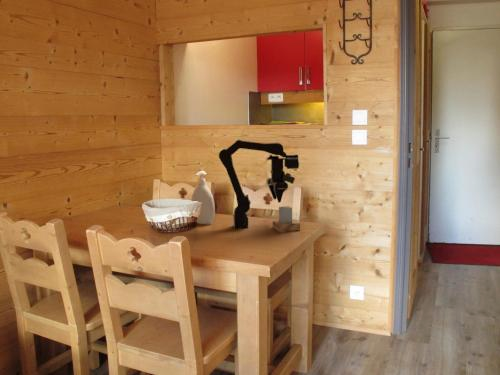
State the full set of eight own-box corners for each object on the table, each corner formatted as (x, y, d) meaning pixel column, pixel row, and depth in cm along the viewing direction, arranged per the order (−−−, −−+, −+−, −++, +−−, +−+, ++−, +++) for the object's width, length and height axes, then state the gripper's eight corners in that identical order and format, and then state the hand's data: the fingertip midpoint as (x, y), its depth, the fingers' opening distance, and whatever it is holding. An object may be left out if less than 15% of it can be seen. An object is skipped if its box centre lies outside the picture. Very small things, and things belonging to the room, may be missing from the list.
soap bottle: (186, 223, 255) (184, 171, 251) (196, 220, 261) (194, 169, 258) (208, 226, 247) (206, 172, 243) (218, 223, 253) (217, 170, 250)
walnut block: (280, 233, 232) (280, 224, 231) (272, 228, 241) (272, 220, 240) (300, 231, 235) (300, 223, 234) (291, 227, 244) (291, 219, 243)
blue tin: (282, 223, 234) (281, 208, 233) (279, 221, 239) (278, 206, 238) (292, 222, 235) (291, 207, 234) (289, 220, 240) (288, 206, 239)
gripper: (298, 170, 232) (298, 203, 235) (288, 166, 251) (288, 197, 253) (275, 171, 230) (275, 204, 233) (266, 167, 249) (266, 198, 251)
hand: (277, 200), depth 242 cm, fingers open, 9 cm apart
